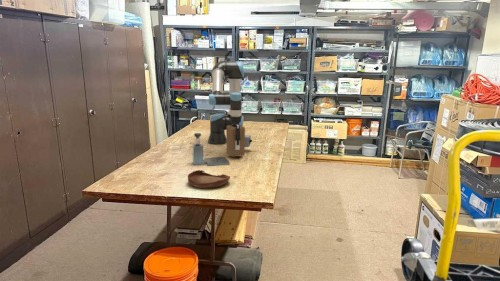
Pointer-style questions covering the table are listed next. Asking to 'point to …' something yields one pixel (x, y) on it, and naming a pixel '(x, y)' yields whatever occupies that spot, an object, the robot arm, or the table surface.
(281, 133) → the table surface
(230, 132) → the wooden block
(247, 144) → the circuit breaker
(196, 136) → the plunger
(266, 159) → the table surface
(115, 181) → the table surface
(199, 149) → the press
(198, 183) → the broken brown bowl
